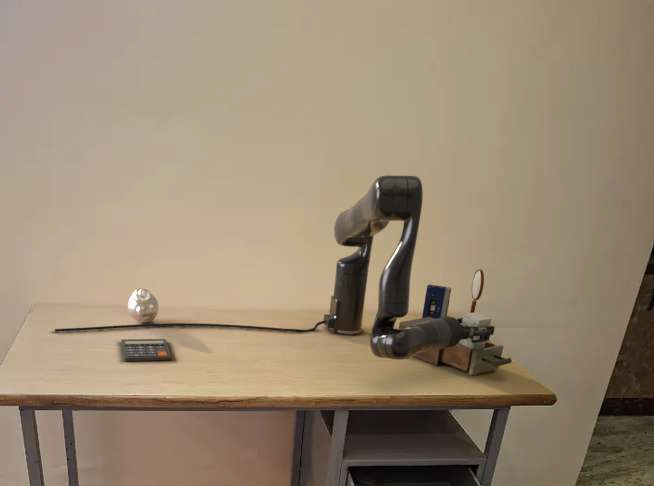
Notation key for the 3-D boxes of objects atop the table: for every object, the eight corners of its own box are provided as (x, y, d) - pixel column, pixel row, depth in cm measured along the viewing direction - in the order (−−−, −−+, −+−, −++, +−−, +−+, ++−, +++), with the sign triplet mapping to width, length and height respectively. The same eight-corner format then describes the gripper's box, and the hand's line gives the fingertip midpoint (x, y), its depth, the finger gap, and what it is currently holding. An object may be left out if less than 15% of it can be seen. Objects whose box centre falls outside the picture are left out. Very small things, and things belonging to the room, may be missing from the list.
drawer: (514, 374, 182) (519, 351, 179) (487, 381, 176) (492, 357, 173) (456, 352, 195) (460, 331, 192) (430, 358, 188) (433, 336, 185)
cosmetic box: (453, 358, 187) (462, 313, 181) (465, 356, 189) (474, 311, 183) (470, 366, 182) (479, 319, 176) (482, 364, 184) (492, 318, 178)
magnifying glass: (473, 342, 207) (487, 273, 197) (467, 342, 207) (481, 272, 197) (466, 333, 214) (479, 266, 204) (460, 333, 214) (474, 266, 204)
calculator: (123, 357, 174) (121, 338, 186) (124, 360, 174) (121, 342, 187) (171, 356, 177) (165, 338, 189) (171, 359, 177) (165, 341, 190)
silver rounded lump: (122, 325, 201) (120, 289, 196) (135, 316, 209) (134, 282, 204) (152, 328, 199) (151, 293, 194) (164, 320, 207) (163, 285, 202)
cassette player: (420, 323, 221) (427, 284, 215) (422, 321, 223) (428, 283, 217) (443, 327, 219) (450, 288, 213) (445, 325, 221) (452, 286, 215)
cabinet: (465, 358, 193) (471, 331, 189) (436, 365, 187) (441, 337, 183) (424, 343, 203) (429, 316, 200) (395, 349, 197) (399, 322, 193)
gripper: (463, 326, 166) (505, 318, 175) (419, 311, 176) (460, 304, 185) (457, 357, 170) (498, 347, 179) (414, 340, 180) (455, 332, 189)
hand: (479, 325), depth 182 cm, fingers open, 8 cm apart
